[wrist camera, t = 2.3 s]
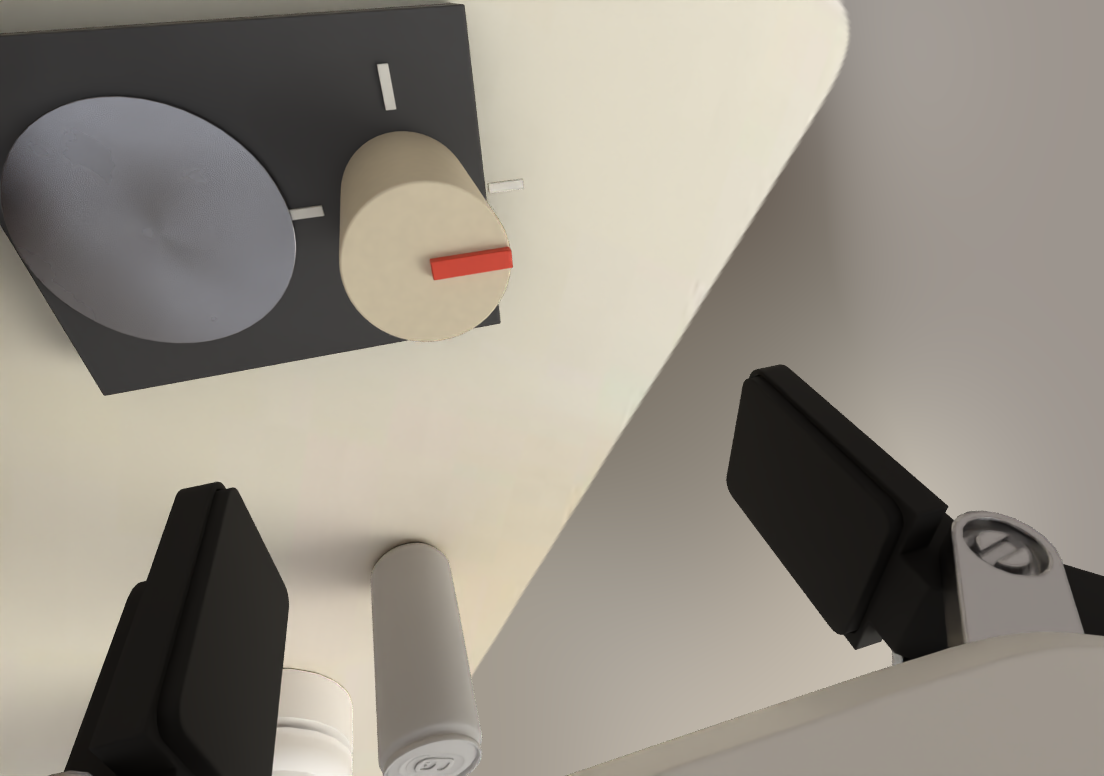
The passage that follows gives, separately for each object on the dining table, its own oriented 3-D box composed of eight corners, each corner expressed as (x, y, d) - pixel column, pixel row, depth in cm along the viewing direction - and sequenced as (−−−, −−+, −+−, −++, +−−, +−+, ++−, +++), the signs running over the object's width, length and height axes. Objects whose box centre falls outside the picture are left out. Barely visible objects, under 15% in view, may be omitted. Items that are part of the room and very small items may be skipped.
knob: (358, 268, 23) (362, 361, 17) (325, 138, 20) (316, 196, 14) (478, 249, 24) (520, 331, 18) (461, 123, 21) (506, 172, 15)
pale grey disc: (87, 358, 22) (84, 363, 22) (-62, 109, 17) (-69, 111, 17) (324, 318, 24) (323, 321, 23) (251, 81, 19) (249, 83, 19)
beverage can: (392, 530, 34) (410, 735, 25) (463, 546, 37) (504, 739, 27) (356, 584, 36) (360, 797, 26) (426, 596, 38) (453, 795, 29)
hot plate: (123, 364, 25) (102, 399, 23) (-61, 37, 18) (-115, 43, 16) (520, 295, 28) (534, 319, 26) (493, 0, 22) (509, 1, 19)
